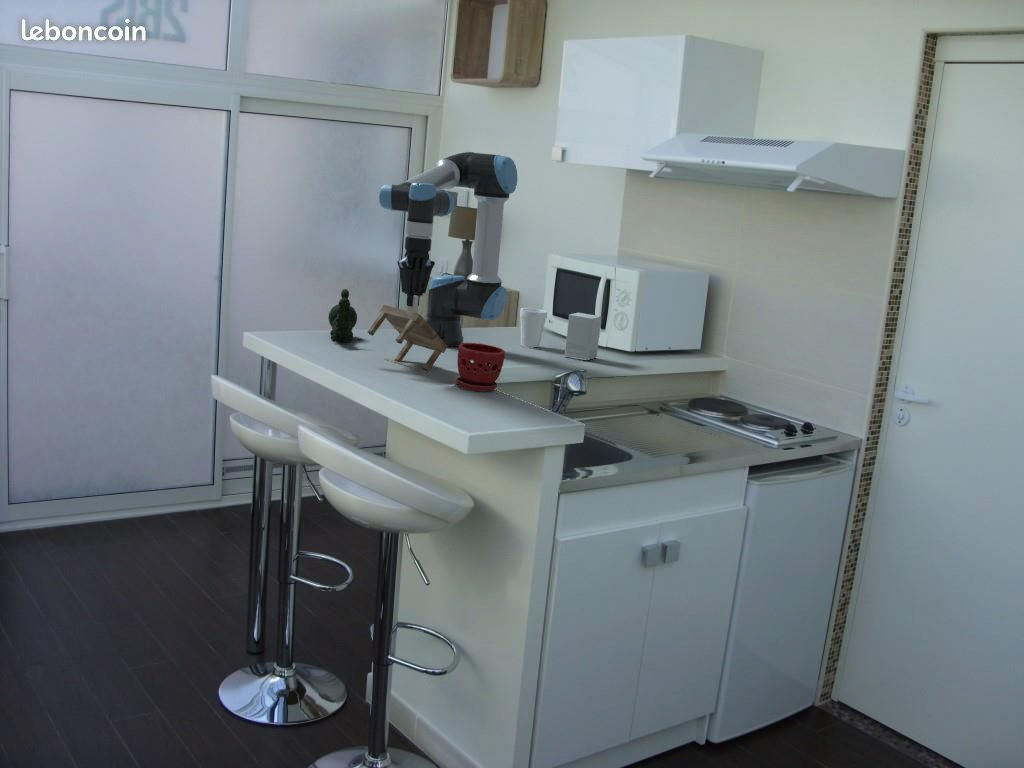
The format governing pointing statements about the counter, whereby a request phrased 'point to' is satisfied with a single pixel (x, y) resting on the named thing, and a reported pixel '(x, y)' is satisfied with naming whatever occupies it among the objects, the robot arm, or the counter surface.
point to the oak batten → (406, 365)
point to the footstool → (411, 332)
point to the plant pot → (479, 366)
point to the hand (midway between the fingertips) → (411, 317)
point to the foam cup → (532, 326)
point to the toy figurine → (342, 319)
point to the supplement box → (583, 336)
